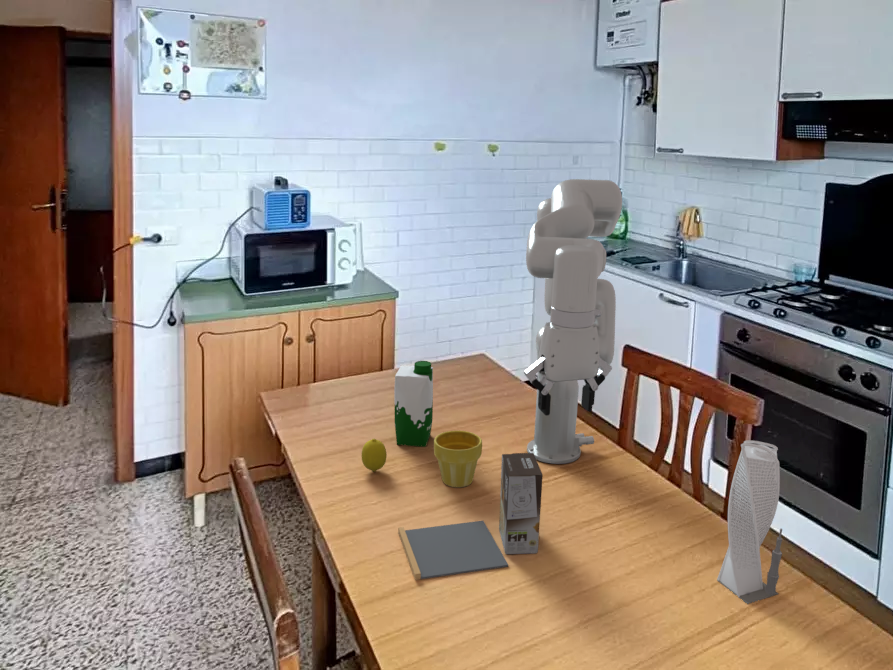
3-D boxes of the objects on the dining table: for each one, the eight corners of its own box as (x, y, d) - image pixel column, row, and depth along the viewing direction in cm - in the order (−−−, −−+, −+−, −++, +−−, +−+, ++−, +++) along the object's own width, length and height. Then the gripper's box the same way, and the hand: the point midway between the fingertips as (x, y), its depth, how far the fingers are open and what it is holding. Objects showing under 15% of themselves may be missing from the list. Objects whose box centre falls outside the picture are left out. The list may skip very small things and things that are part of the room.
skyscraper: (740, 607, 121) (765, 454, 113) (705, 579, 128) (726, 434, 120) (778, 595, 125) (804, 446, 116) (742, 569, 132) (765, 426, 123)
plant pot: (438, 467, 166) (439, 427, 163) (483, 471, 164) (485, 432, 161) (429, 489, 156) (429, 447, 154) (476, 494, 155) (478, 452, 152)
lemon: (382, 478, 161) (382, 445, 158) (358, 475, 162) (357, 442, 159) (389, 467, 166) (389, 434, 163) (366, 464, 167) (365, 432, 164)
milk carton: (428, 449, 175) (429, 370, 169) (391, 446, 176) (391, 367, 170) (434, 433, 183) (435, 358, 177) (399, 431, 184) (398, 355, 178)
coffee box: (539, 554, 135) (544, 475, 130) (504, 555, 134) (508, 476, 129) (529, 526, 143) (534, 452, 138) (497, 527, 143) (500, 452, 138)
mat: (483, 522, 144) (483, 516, 144) (508, 566, 131) (508, 560, 130) (398, 533, 140) (398, 527, 140) (415, 580, 126) (415, 574, 126)
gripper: (608, 309, 133) (600, 399, 139) (517, 314, 129) (513, 406, 134) (627, 320, 126) (618, 414, 132) (533, 326, 122) (527, 423, 127)
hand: (565, 410), depth 133 cm, fingers open, 7 cm apart
